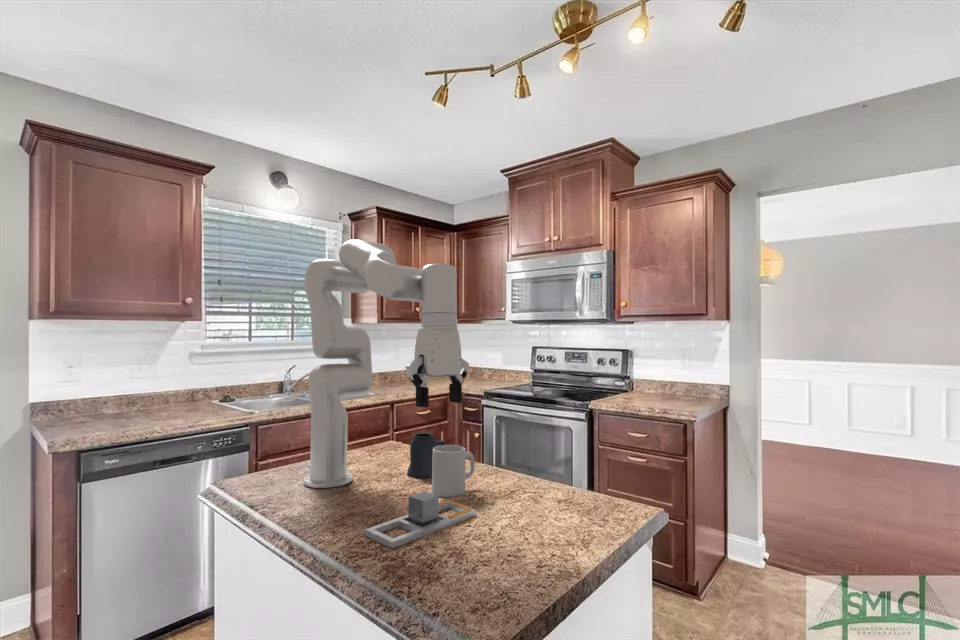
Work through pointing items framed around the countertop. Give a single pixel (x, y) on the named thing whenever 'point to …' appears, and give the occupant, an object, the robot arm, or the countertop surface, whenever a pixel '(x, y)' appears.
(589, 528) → the countertop surface
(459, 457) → the mug
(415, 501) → the grey rectangular block
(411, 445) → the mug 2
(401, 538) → the grey flat frame
